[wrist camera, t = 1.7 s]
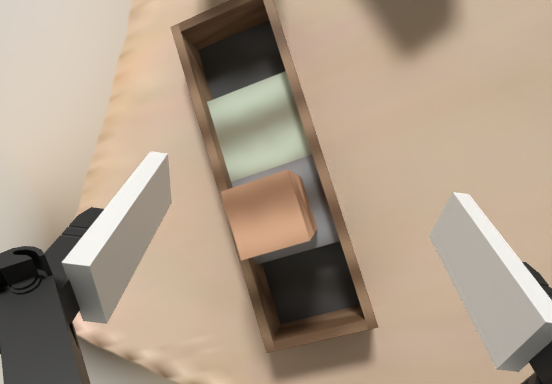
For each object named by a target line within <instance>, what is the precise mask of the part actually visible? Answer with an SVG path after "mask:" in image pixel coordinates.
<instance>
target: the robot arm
mask: <svg viewBox="0 0 552 384" xmlns="http://www.w3.org/2000/svg"><path fill="white" fill-rule="evenodd" d="M171 203H172V202H171V189H170V176H169V163H168V154H167V153H159V152H152V151H151V152H150V153H149V154H148V155H147V157H146V158H145V159H144V160H143V162H142V163H141V164H140V165H139V167H138V168H137V169H136V170H135V172H134V173H133V174H132V175H131V177H130V178H129V179H128V180H127V182H126V183H125V184H124V185H123V187H122V188H121V189H120V190H119V192H118V193H117V194H116V195H115V197H114V198H113V199H112V200H111V202H110V203H109V204H108V205H107V207H106V208H105V209H100V208H92V207H91V208H89V209H88V210H86V211H84V212H83V213H81V214H79V215H78V216H77V217H76V218H75V219H74V220H73V222H72V223H71V224H70V225H69V227H67V228H66V230H65V231H64V232H63V233H62V236H59V237H58V239H57V240H56V241H55V242H54V243H53V244H52V245H51V246H50V248H49V249H48V250H47V251H46V252H45V253H43V252H42V250H41V249H38V248H36V247H30V246H23V247H17V248H12V249H10V250H7V251H5V252H3V253H0V354H1V358H2V368H3V377H4V384H90V381H89V377H88V374H87V370H86V367H85V363H84V360H83V356H82V353H81V349H80V346H79V342H78V339H77V335H76V332H75V328H74V325H73V323H72V321H73V320H74V318H75V316H76V315H77V313H78V312H79V311H80V313H81V316H82V319H83V321H89V322H98V323H106V324H107V323H108V321H109V319H110V317H111V315H112V313H113V311H114V309H115V308H116V306H117V304H118V302H119V300H120V298H121V296H122V294H123V293H124V291H125V289H126V287H127V285H128V283H129V281H130V279H131V278H132V276H133V274H134V272H135V270H136V268H137V266H138V264H139V263H140V261H141V259H142V257H143V255H144V253H145V251H146V249H147V248H148V246H149V244H150V242H151V240H152V238H153V236H154V234H155V233H156V231H157V229H158V227H159V225H160V223H161V221H162V219H163V218H164V216H165V214H166V212H167V210H168V208H169V206H170V204H171ZM429 237H430V239H431V241H432V243H433V245H434V247H435V249H436V251H437V253H438V255H439V257H440V259H441V261H442V263H443V264H444V266H445V268H446V270H447V272H448V274H449V276H450V278H451V280H452V282H453V284H454V286H455V288H456V290H457V292H458V294H459V296H460V298H461V300H462V302H463V304H464V306H465V308H466V310H467V312H468V314H469V316H470V318H471V320H472V322H473V324H474V326H475V328H476V330H477V332H478V334H479V336H480V338H481V340H482V342H483V344H484V346H485V347H486V349H487V351H488V353H489V355H490V357H491V359H492V361H493V363H494V365H495V367H496V369H499V370H508V371H516V372H519V371H520V370H521V369H522V368H523V367H524V366H525V365H527V364H528V363H530V364H531V366H532V368H533V369H534V371H535V373H533V374H532V375H531V376H530V377H529V378H527V379H526V380H525V381H524V382H523V383H521V384H552V288H551V287H549V285H548V284H547V282H546V281H545V280H544V279H543V277H542V276H541V275H540V274H539V273H538V272H537V271H536V270H535V269H533V268H532V267H531V266H530V265H528V264H527V263H526V262H521V260H520V259H519V258H518V256H517V255H516V254H515V253H514V251H513V250H512V249H511V247H510V246H509V245H508V244H507V242H506V241H505V240H504V238H503V237H502V236H501V235H500V233H499V232H498V231H497V229H496V228H495V227H494V226H493V224H492V223H491V222H490V220H489V219H488V218H487V217H486V215H485V214H484V213H483V212H482V210H481V209H480V208H479V206H478V205H477V204H476V203H475V201H474V200H473V199H472V197H471V196H470V195H469V194H463V193H456V192H453V193H452V195H451V197H450V198H449V200H448V202H447V204H446V206H445V208H444V209H443V211H442V213H441V215H440V217H439V219H438V220H437V222H436V224H435V226H434V228H433V230H432V231H431V233H430V235H429Z"/></svg>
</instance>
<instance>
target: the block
mask: <svg viewBox="0 0 552 384" xmlns="http://www.w3.org/2000/svg"><path fill="white" fill-rule="evenodd" d="M221 195H222V198H223V202H224V205H225V208H226V212H227V215H228V218H229V222H230V225H231V229H232V232H233V235H234V239H235V242H236V245H237V249H238V252H239V256H240V259H241V260H245V259H248V258H252V257H255V256H259V255H262V254H266V253H269V252H273V251H276V250H280V249H283V248H287V247H290V246H293V245H297V244H300V243H304V242H307V241H310V240H311V238H312V237H313V235H314V233H315V232H316V230H317V229H318V228H317V225H316V222H315V219H314V216H313V213H312V209H311V206H310V203H309V200H308V197H307V194H306V190H305V187H304V184H303V181H302V178H301V177H300V176H299V175H297V174H295V173H293V172H291V171H290V170H285V171H282V172H279V173H276V174H273V175H270V176H267V177H264V178H261V179H258V180H255V181H252V182H249V183H246V184H243V185H240V186H237V187H234V188H231V189H228V190H225V191H222V192H221Z"/></svg>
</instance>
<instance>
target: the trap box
mask: <svg viewBox="0 0 552 384" xmlns="http://www.w3.org/2000/svg"><path fill="white" fill-rule="evenodd" d="M171 30H172V34H173V37H174V41H175V44H176V47H177V51H178V54H179V58H180V61H181V64H182V68H183V71H184V74H185V78H186V81H187V85H188V88H189V91H190V95H191V98H192V101H193V105H194V108H195V112H196V115H197V118H198V122H199V125H200V129H201V132H202V135H203V139H204V142H205V145H206V149H207V152H208V156H209V159H210V162H211V166H212V169H213V172H214V176H215V179H216V183H217V186H218V189H219V193H220V196H221V200H222V203H223V206H224V210H225V213H226V216H227V220H228V223H229V227H230V230H231V233H232V237H233V240H234V244H235V247H236V250H237V254H238V257H239V260H240V264H241V267H242V271H243V274H244V277H245V281H246V284H247V287H248V291H249V294H250V298H251V301H252V304H253V308H254V311H255V315H256V318H257V321H258V325H259V328H260V331H261V335H262V338H263V342H264V345H265V348H266V352H267V353H269V352H273V351H277V350H282V349H286V348H290V347H295V346H299V345H303V344H308V343H312V342H316V341H321V340H325V339H330V338H334V337H338V336H343V335H347V334H351V333H356V332H360V331H364V330H369V329H373V328H377V327H378V325H377V322H376V319H375V315H374V312H373V309H372V306H371V303H370V300H369V297H368V294H367V290H366V287H365V284H364V281H363V278H362V275H361V272H360V269H359V266H358V262H357V259H356V256H355V253H354V250H353V247H352V244H351V241H350V238H349V235H348V231H347V228H346V225H345V222H344V219H343V216H342V213H341V210H340V207H339V204H338V200H337V197H336V194H335V191H334V188H333V185H332V182H331V179H330V176H329V172H328V169H327V166H326V163H325V160H324V157H323V154H322V151H321V148H320V145H319V141H318V138H317V135H316V132H315V129H314V126H313V123H312V120H311V117H310V114H309V110H308V107H307V104H306V101H305V98H304V95H303V92H302V89H301V86H300V82H299V79H298V76H297V73H296V70H295V67H294V64H293V61H292V58H291V55H290V51H289V48H288V45H287V42H286V39H285V36H284V33H283V30H282V27H281V24H280V20H279V17H278V14H277V11H276V8H275V5H274V2H273V0H230V1H228V2H226V3H223V4H221V5H219V6H217V7H214V8H212V9H210V10H208V11H205V12H203V13H201V14H199V15H196V16H194V17H192V18H190V19H187V20H185V21H183V22H181V23H179V24H176V25H174V26H172V27H171ZM285 170H290V171H291V172H293V173H295V174H297V175H299V176H300V177H301V178H302V181H303V184H304V187H305V190H306V194H307V197H308V200H309V203H310V206H311V209H312V213H313V216H314V219H315V222H316V225H317V228H318V229H317V230H316V232H315V233H314V235H313V237H312V238H311V240H310V241H307V242H304V243H300V244H297V245H293V246H290V247H287V248H283V249H280V250H276V251H273V252H269V253H266V254H262V255H259V256H255V257H252V258H248V259H245V260H241V259H240V256H239V252H238V249H237V245H236V242H235V239H234V235H233V232H232V229H231V225H230V222H229V218H228V215H227V212H226V208H225V205H224V202H223V198H222V195H221V192H222V191H225V190H228V189H231V188H234V187H237V186H240V185H243V184H246V183H249V182H252V181H255V180H258V179H261V178H264V177H267V176H270V175H273V174H276V173H279V172H282V171H285Z"/></svg>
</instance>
